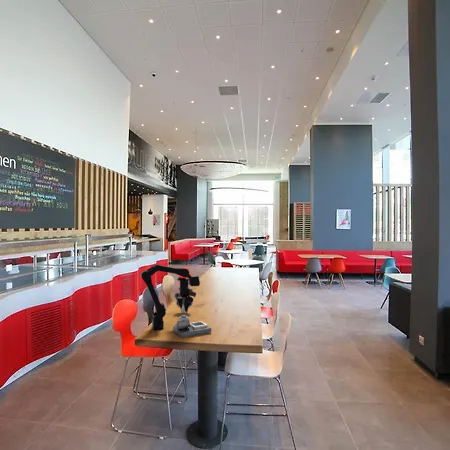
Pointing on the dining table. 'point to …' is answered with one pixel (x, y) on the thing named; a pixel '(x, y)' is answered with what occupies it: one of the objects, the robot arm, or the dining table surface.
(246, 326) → the dining table surface
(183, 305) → the pneumatic valve
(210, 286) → the dining table surface
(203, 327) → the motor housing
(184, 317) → the drain pump
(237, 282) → the dining table surface
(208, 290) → the dining table surface
